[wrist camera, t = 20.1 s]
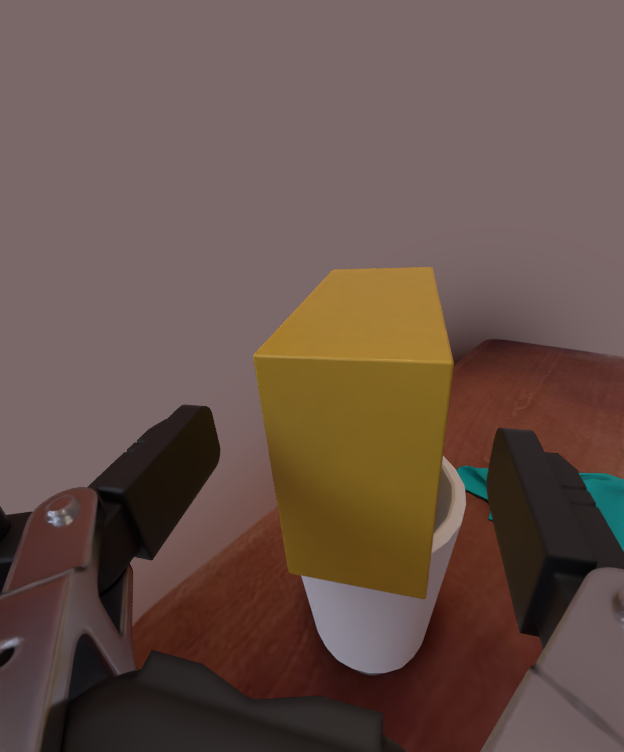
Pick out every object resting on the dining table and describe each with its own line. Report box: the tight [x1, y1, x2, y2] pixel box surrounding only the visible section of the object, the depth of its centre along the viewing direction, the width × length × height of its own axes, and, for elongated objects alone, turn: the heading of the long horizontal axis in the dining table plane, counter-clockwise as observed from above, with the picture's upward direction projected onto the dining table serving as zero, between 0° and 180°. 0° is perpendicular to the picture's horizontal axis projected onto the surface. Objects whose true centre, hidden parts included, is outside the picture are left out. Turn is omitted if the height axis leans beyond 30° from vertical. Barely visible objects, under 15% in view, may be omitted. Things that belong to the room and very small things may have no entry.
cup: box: [301, 456, 466, 675], centre depth 22 cm, size 10×10×13 cm
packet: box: [253, 267, 454, 599], centre depth 17 cm, size 6×12×10 cm, turn 166°
